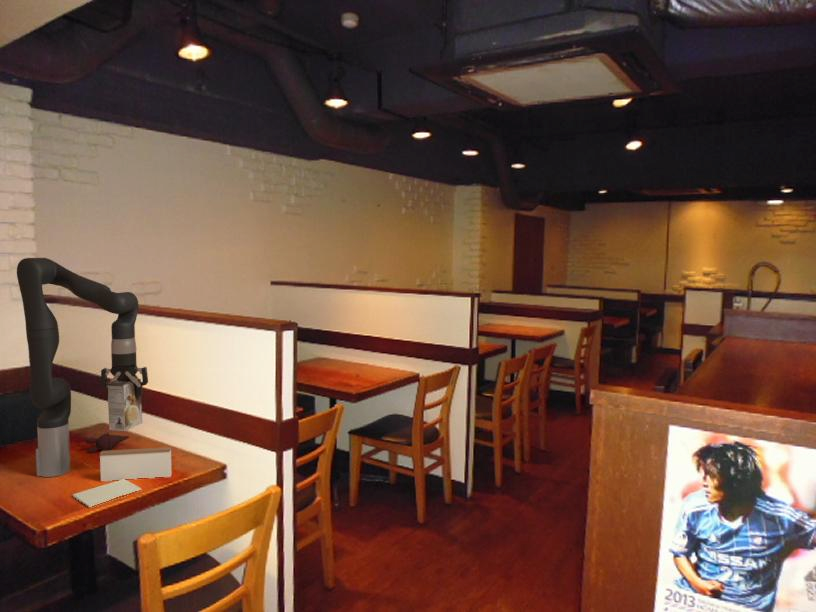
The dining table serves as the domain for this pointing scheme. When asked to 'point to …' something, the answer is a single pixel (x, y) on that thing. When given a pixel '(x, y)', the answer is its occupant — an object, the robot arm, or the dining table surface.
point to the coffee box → (124, 405)
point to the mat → (105, 492)
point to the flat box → (135, 463)
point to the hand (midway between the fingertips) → (125, 397)
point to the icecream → (105, 442)
